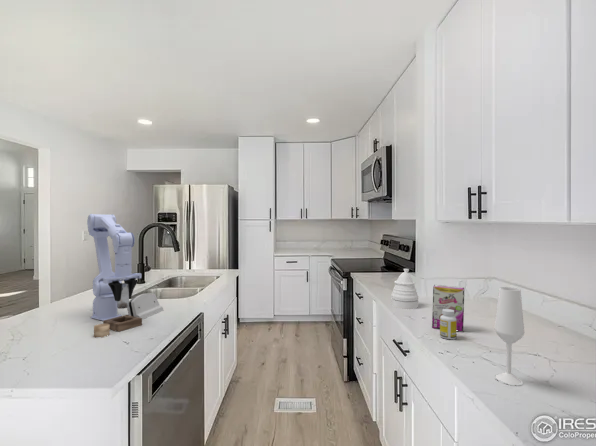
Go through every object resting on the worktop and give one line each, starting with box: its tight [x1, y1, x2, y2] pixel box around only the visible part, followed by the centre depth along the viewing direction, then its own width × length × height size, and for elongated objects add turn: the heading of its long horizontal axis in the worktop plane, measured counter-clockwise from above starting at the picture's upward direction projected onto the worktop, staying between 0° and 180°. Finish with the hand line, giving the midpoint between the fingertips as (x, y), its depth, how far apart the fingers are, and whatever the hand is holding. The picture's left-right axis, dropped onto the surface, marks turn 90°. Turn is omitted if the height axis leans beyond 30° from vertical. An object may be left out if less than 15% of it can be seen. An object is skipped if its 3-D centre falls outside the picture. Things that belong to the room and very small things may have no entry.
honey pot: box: [390, 268, 419, 310], centre depth 168 cm, size 13×13×18 cm
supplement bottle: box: [439, 309, 457, 340], centre depth 122 cm, size 5×5×10 cm
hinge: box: [126, 292, 164, 321], centre depth 147 cm, size 17×5×10 cm, turn 169°
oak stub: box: [93, 323, 111, 338], centre depth 120 cm, size 5×5×4 cm
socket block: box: [102, 314, 143, 333], centre depth 130 cm, size 10×10×3 cm
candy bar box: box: [431, 284, 465, 332], centre depth 132 cm, size 11×5×16 cm, turn 65°
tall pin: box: [117, 282, 130, 310], centre depth 130 cm, size 4×4×9 cm
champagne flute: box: [494, 286, 525, 384], centre depth 89 cm, size 7×7×24 cm
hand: (123, 299), depth 130 cm, fingers closed on tall pin, 4 cm apart
